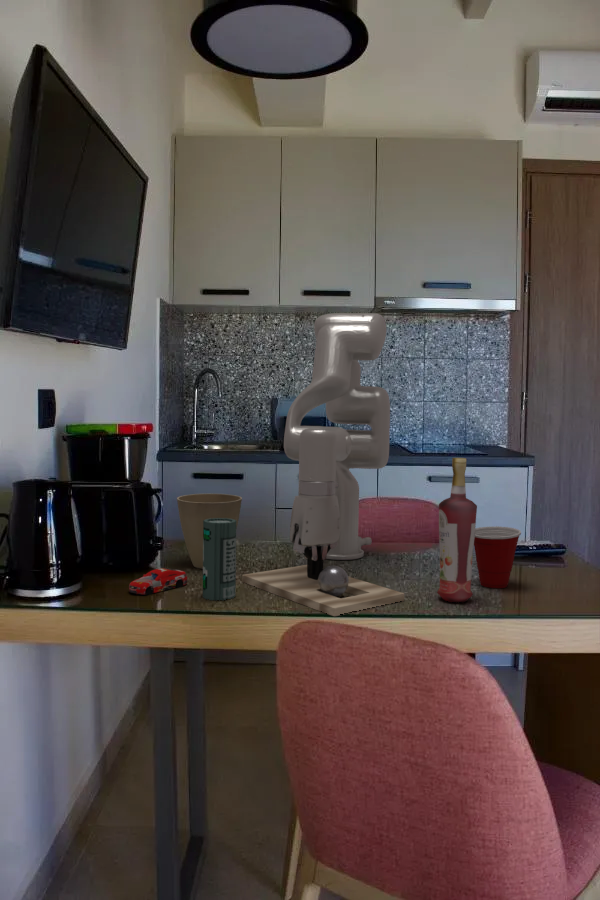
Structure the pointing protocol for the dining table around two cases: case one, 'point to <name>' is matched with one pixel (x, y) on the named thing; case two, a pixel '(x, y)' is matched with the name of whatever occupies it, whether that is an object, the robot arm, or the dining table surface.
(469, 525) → the liquor
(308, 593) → the wooden recessed tray
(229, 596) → the can
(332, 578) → the steel ball
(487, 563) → the plastic cup
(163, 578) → the race car
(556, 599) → the dining table surface
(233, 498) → the plant pot
